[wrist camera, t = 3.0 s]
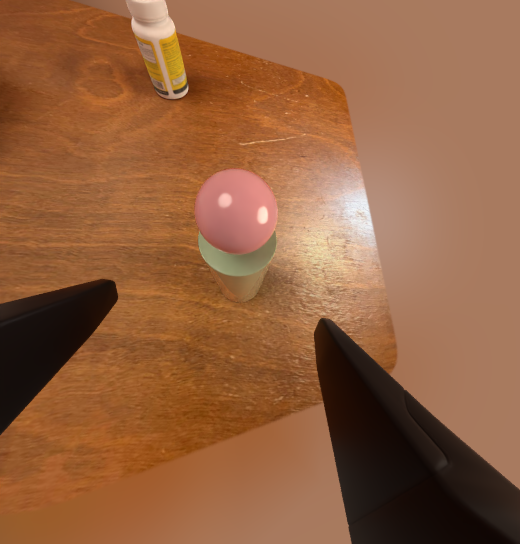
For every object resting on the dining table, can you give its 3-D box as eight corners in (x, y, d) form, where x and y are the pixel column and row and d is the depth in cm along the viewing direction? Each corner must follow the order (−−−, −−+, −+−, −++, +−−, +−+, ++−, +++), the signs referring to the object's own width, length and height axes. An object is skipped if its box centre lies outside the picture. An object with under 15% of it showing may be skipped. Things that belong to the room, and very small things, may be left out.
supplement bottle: (188, 79, 29) (167, -19, 21) (189, 100, 27) (168, 5, 19) (154, 78, 28) (119, -23, 20) (155, 100, 27) (117, 2, 19)
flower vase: (268, 280, 20) (320, 184, 7) (241, 311, 19) (240, 268, 6) (238, 254, 21) (232, 120, 7) (210, 283, 20) (141, 184, 6)
